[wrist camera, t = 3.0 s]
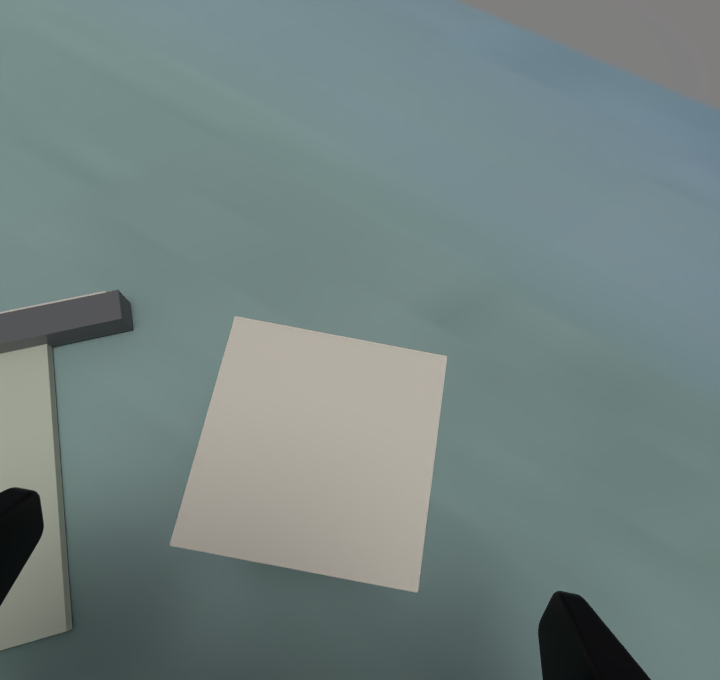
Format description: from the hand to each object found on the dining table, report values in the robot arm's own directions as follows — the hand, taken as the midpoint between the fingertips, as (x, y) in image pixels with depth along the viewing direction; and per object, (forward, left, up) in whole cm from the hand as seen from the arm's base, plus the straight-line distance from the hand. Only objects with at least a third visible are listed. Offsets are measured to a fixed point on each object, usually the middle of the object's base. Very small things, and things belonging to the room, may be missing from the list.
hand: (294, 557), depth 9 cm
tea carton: (+2, +1, -10) cm, 10 cm away
